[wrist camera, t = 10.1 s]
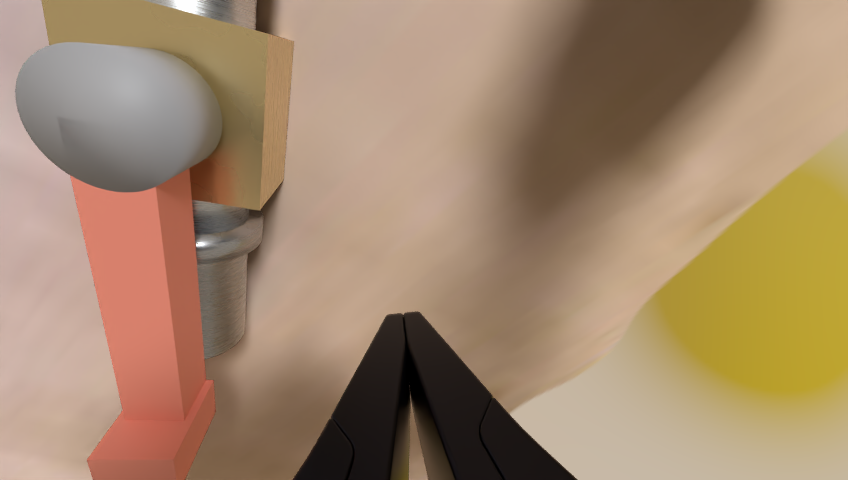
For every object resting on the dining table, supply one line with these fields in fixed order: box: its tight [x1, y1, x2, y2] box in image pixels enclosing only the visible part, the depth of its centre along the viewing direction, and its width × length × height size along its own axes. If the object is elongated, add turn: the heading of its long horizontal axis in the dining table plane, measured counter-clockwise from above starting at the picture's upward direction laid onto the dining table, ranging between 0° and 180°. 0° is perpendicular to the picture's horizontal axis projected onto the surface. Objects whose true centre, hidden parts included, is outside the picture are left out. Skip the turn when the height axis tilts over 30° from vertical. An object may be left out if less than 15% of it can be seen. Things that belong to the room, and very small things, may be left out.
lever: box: [15, 42, 222, 480], centre depth 12 cm, size 15×4×4 cm, turn 168°
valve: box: [42, 0, 294, 359], centre depth 13 cm, size 6×22×5 cm, turn 166°
